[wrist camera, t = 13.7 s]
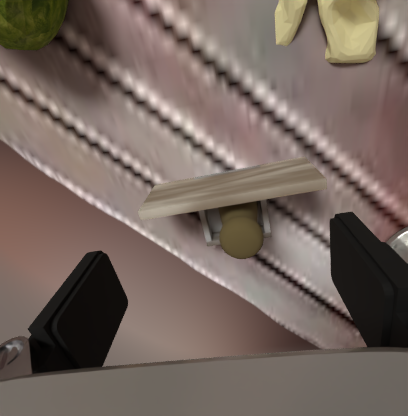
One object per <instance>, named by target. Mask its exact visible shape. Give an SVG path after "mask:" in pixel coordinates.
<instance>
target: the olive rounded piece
mask: <svg viewBox="0 0 408 416" xmlns="http://www.w3.org/2000/svg"><path fill="white" fill-rule="evenodd" d="M218 210H219V214H220V218H221V222H222V228H221V230H220V235H219V241H220V244H221V246H222V249H223V250H224V251H225V252H226V253H227V254H228V255H230V256H231V257H234V258H237V259H246V258H250V257H252V256H254V255H255V254H256V253H257V252H258V251H259V250H260V249H261V247H262V245H263V238H264V235H263V232H262V229H261V227H260V225H259V224H258V223H257V214H258V201H253V202H247V203H241V204H235V205H230V206H224V207H218Z"/></svg>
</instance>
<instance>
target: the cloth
mask: <svg viewBox="0 0 408 416" xmlns="http://www.w3.org/2000/svg"><path fill="white" fill-rule="evenodd" d="M317 1H318V8H319V15H320V19H321V23H322V25H323V27H324V30H325V33H326V36H327V42H328V46H327V49H326V53H325V60H327V61H328V62H329V63H364V62H368V61H370V60H371V59H372V58H373V57H374V55H375V54H376V52H375V45H376V37H377V30H378V22H379V7H378V5H377V3H376V1H375V0H317ZM306 4H307V0H279V3H278V6H277V8H276V11H275V29H276V44H278V45H284V46H288V45H289V44H290V43H291V41H292V40H293V38H294V36H295V34H296V31H297V29H298V27H299V24H300V22H301V20H302V17H303V13H304V10H305V7H306Z"/></svg>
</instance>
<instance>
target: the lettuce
mask: <svg viewBox="0 0 408 416" xmlns="http://www.w3.org/2000/svg"><path fill="white" fill-rule="evenodd" d="M68 1H69V0H0V45H2V46H3V47H4V48H7V49H18V50H39V49H40V48H42V47H44V46H46V45H48V44H49V43H50V41H51V40H52V39H53V38H54V37H55V36H56V34H57V33H58V31H59V29H60V27H61V25H62V23H63V21H64V18H65V14H66V10H67V6H68Z"/></svg>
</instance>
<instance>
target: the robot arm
mask: <svg viewBox="0 0 408 416" xmlns="http://www.w3.org/2000/svg"><path fill="white" fill-rule="evenodd" d="M330 254H331V277H332V280H333V283H334V285H335V287H336V289H337V290H338V292H339V294H340V296H341V298H342V300H343V302H344V304H345V305H346V307H347V309H348V311H349V313H350V315H351V317H352V319H353V321H354V322H355V324H356V326H357V328H358V330H359V332H360V334H361V336H362V337H363V339H364V341H365V343H366V345H367V347H362V348H342V349H325V350H309V351H296V352H295V351H294V352H281V353H267V354H254V355H241V356H228V357H214V358H202V359H191V360H190V359H189V360H177V361H165V362H153V363H140V364H129V365H118V366H106V367H102V366H103V363H104V361H105V359H106V357H107V354H108V352H109V349H110V347H111V345H112V342H113V340H114V337H115V335H116V333H117V330H118V328H119V325H120V323H121V321H122V318H123V316H124V314H125V311H126V309H127V306H128V299H127V296H126V294H125V292H124V290H123V288H122V285H121V284H120V281H119V279H118V277H117V274H116V272H115V270H114V268H113V266H112V264H111V261H110V259H109V257H108V255H107V254H105V253H103V252H102V251H94V252H89V253H87V254H86V255H85V256H84V257H83V259H82V260H81V261H80V262H79V264H78V265H77V266H76V268H75V269H74V270H73V272H72V273H71V274H70V275H69V277H68V278H67V279H66V281H65V282H64V283H63V284H62V286H61V287H60V288H59V290H58V291H57V292H56V293H55V295H54V296H53V297H52V298H51V300H50V301H49V302H48V304H47V305H46V306H45V307H44V309H43V310H42V311H41V313H40V314H39V315H38V316H37V318H36V319H35V320H34V322H33V323H32V324H31V325H30V327H29V328H28V330H29V332H30V333H31V334H32V335H31V336H30V338H29V339H28V338H26V337H24V336H18V337H15V338H12V339H10V340H8V341H6V342H4V343H2V344H1V345H0V416H408V227H406V228H404V229H402V230H401V231H399V232H397V233H396V234H395V235H393V236H392V237H391V238H390V239H389V240H388V241H387V242H386V243H385V242H381V241H380V240H379V239H378V238H377V237H376V236H375V235H374V234H373V233H372V232H371V231H370V230H369V229H368V228H367V227H366V226H365V225H364V224H363V223H362V221H361V220H360V219H359V218H358V217H357V216H356V215H355V214H354V213H353V212H346V213H340V214H335V217H334V218H332V219H330Z"/></svg>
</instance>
